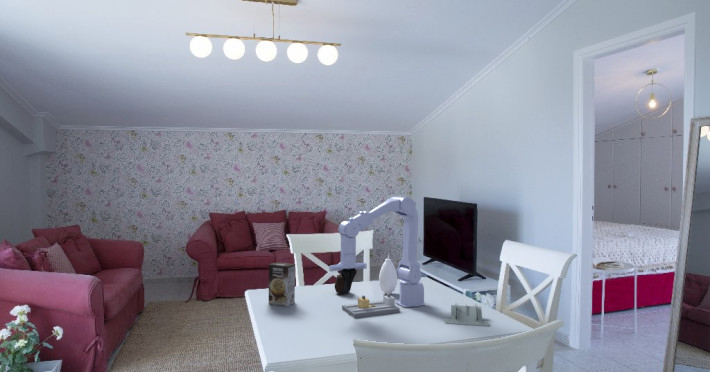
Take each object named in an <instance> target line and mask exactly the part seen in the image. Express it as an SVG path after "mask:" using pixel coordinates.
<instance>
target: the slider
mask: <svg viewBox="0 0 710 372" xmlns="http://www.w3.org/2000/svg"><path fill="white" fill-rule="evenodd" d="M369 302H370V299H369V298H367V297H366V296H365V295H362V296H361V297H357V304H358V306H359V307H361V308H369Z"/></svg>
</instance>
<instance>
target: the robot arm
mask: <svg viewBox="0 0 710 372" xmlns="http://www.w3.org/2000/svg"><path fill="white" fill-rule="evenodd" d="M416 206H417V205H416V202H415V201H414V199H412V198H411V197H410V196H406V197H405V196H398V195H393V196H392V197H391V198H390V197H389V198H387V199H386V200H385V201H384V202H382V203H380V204H379V205H377V206H376V207H375V208H373V209H371V210H370V211H366V210H363V211H362V210H360V211H359V212H358V213H359V214H357V215H355V216H353V217H349V218H348V219H349V220H344V221H342V222H341V223H340V224H339V225H338V228H337V232H338V234H340V263H338V264H333V265H332V264H331V265H329V268H328V269H329V270H328V271H329V272H332V273H333V272H336V271H337V272H338V271H339V273H340V274H341V275H342V277H343V280H344V284H345V288H346V289H350V290H351V289H352V284H353V281H354V278H355V276H356V275H357V270H360V269H363V270H365V269H366V270H367V268H368V267H367V263H366V262H356V261H357V260H356V259H357V258H356V256H357V250H356V249H357V236H358V234H359V233H360V232H361V231H362V230H364V229H365V228H368V227H370V225H372V224H373V222H374V220H375V219H377V218H379V217H381V216H383V215H385V214H387V213H389V212H394V213H396V214H398V215H399V216H400V217H401V218H402V219H403V222H404V223H403V239H402V240H403V241H402V258H401V259H400V260H399V261H398V266H397V268H396V273H397V279H399V300H398V301H397V300H395V304H398V305H400V306H401V307H403V308H411V307H412V308H413V307H419V306H425V305H426V304H425V287H424V284H423V282H421V279H422V271H421V264H420V262H419V261H418V260H417V250H418V249H417V245H418V228H419V214H418V211H417V208H416Z"/></svg>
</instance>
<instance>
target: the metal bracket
mask: <svg viewBox="0 0 710 372" xmlns="http://www.w3.org/2000/svg"><path fill="white" fill-rule="evenodd" d="M444 323H445V325H462V326H472V327H475V326H476V327H485V328H486V327H487V328H488V327H490V323H489V321H488V320H483V312H482V306H478V305H477V303H476V304H474V305H460V304H459V305H458V304H457V303H455V304H451V305H450V318H445V321H444Z"/></svg>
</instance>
